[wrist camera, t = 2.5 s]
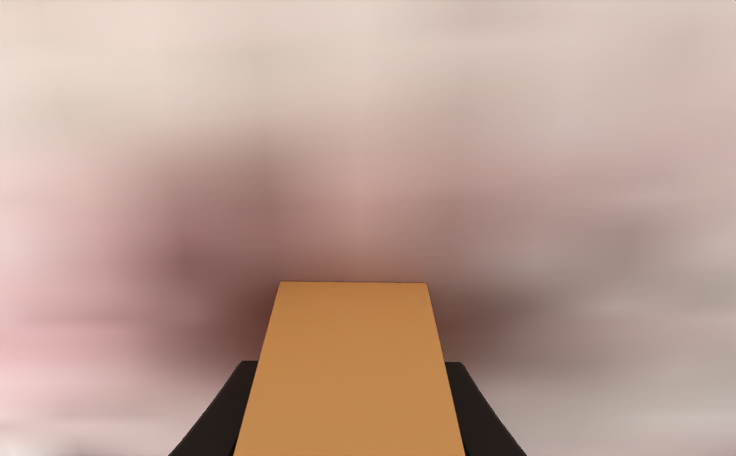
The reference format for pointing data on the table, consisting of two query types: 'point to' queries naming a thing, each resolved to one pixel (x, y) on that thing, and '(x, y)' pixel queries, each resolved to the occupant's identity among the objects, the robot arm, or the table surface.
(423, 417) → the connector
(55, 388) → the table surface
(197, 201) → the table surface
